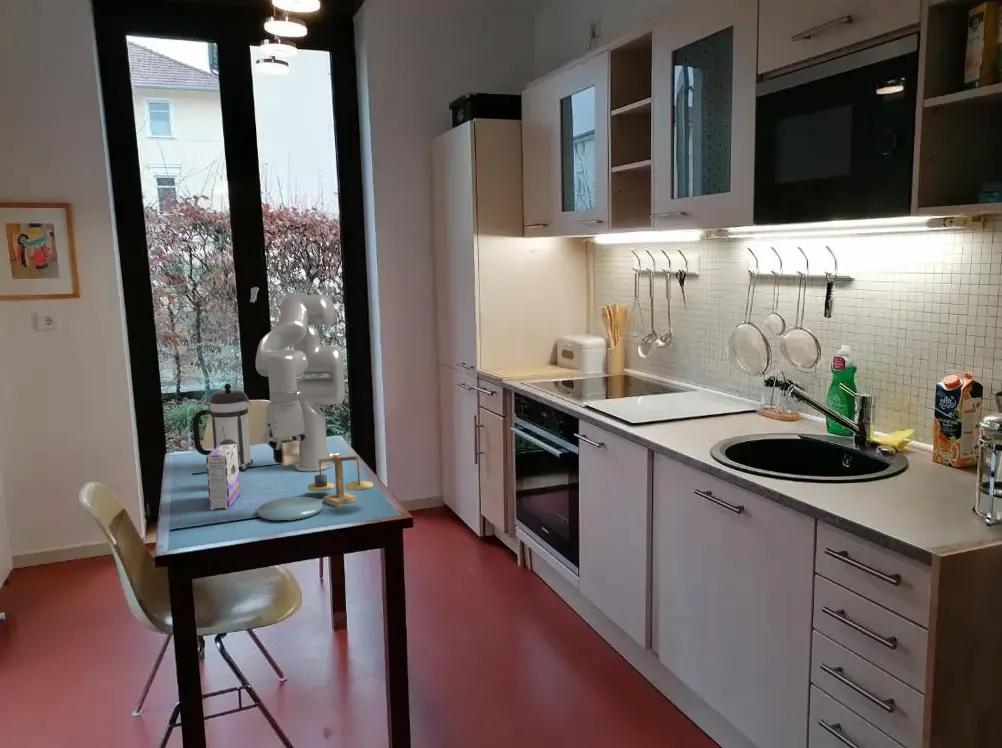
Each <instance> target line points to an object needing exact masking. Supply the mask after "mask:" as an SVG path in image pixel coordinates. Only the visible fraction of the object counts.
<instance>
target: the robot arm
mask: <svg viewBox="0 0 1002 748" xmlns="http://www.w3.org/2000/svg"><path fill="white" fill-rule="evenodd" d="M279 312H280V315H279V320H278V325H277V326H276V327H274V328H273V329H271V330H270V331H269V332H268V333H266V334H265V335H264V336H263V337H262V339H260V341H259V344H258V346H257V351H256V357H255V369H256V371H257V373H258V374H259V375H260V376H262V377H268V385H269V386H268V388H269V403H267V405H266V411H265V423H264V424H265V427H264V429H265V432H264V434H263V435H262V437H261V441H262V442H263V443H265V444H267V446H269V447H270V448H271V449H272V451H273V459H274V460H273V461H274V462H277V463H276V464H278V463H282V449H280V445H281V440H284V439H289V438H290V439H292V440H296V441H299V449H300V462H298V463H295V464H294V469H295V470H297V471H300V472H307V473H308V472H318V471H319V472H320V470H319V463H318V459H324V458H334V456H337V455H340V453H339V452H338V451H335V452H331V451H330V452H329V451H328V446H327V444H328V442H327V427H326V424H327V423H326V416H325V414H324V412H323V411H322V410H321V409H320V407H319V406H321V405H323V406H324V405H325V406H326V405H339V404H341V403H343V401H344V400H345V397H346V396H345V395H346V386H345V371H344V370H345V369H344V360H343V355H342V352H341V349H340V348H339V347H337V346H336V345H335V346H334V345H326V346H325V345H322V346H321V345H320V340H319V339H320V337H319V335H320V334H319V331H318V330H317V328H316V327H315V326H321V325H322V326H324V325H327V326H328V325H330V324H332V323H333V322H334V319H335V315H336V314H335V312H336V310H335V306H334V302H333V301H332V300H331V299H330V298H329V297H327V296H326V295H323V294H295V295H290V296H288V297H285V299H284V300H283V302H281V303H280V306H279ZM291 346H293V349H285V348H288V347H291ZM301 375H329V376H322V377H321V376H312V377H311V376H310V377H302V378H298V379H297V377H298V376H301ZM270 438H272V439H270ZM332 467H333V462H322V463H321V471H323V470H328V469H331V468H332Z"/></svg>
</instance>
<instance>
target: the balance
mask: <svg viewBox="0 0 1002 748" xmlns="http://www.w3.org/2000/svg"><path fill="white" fill-rule="evenodd" d="M360 460H361V459H360V455H351V456H343V455H342V454H339V455H337V456H334V458H324V459H318V463H319V470H320V471H319V474H316V475H315V476H314V482H313V483H311V484H308V485H307V490H308V491H311V492H325V491H330V490H332V489H334V488H335V493H333V494H330V495H327V496H323V502H324V503H325V504H328V505H331V506H333V505H334V507H336V506H337V508H339V507H342V506H345V504H346V505H349V504H352V502H353V503H356V502H358V495H355V494H352V493H350V492H349V493H348V492H346V491H345V489H346V490H347V491H353V492H359V491H366V490H370V489H372V488H373V487H374V482H372V481H370V480H369V481H368V480H360V479H361V476H360ZM344 461H345V462H346V461H357V466H356V467H357V480H354V481H351V482H348V483H345V485H344V473H343V472H344V471H343V470H344V469H343V467H344V466H343V462H344ZM322 462H332V463H334V475H335V477H334V478H335V483H334V482H331V481H328V476H327V474H322V470H321V463H322ZM344 488H345V489H344ZM355 501H356V502H355ZM338 506H339V507H338Z"/></svg>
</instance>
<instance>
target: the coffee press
mask: <svg viewBox="0 0 1002 748" xmlns="http://www.w3.org/2000/svg"><path fill="white" fill-rule="evenodd" d="M223 388H224V389H223V390H217V391H215V392H213V393H212V394H211V395H210V397H209V399H208V403H209V406H210V409H202V410H199V411H198V412H197V413H195V414H194V416H193V420H192V431H193V443H194V448H195V450H196V451H197V452H198V453H199V454H200V455H204V456H207V455H208V454H209V453H210V452H212V451H213V450H214V449H215V448H216V447H217V446H218V445H219V444H220V443H221V442H222V441H224V440H225V438H224V433H223V427H222V426H224V429H225V434H226V440H227V439H230V440H233V441H235V442H236V443H237V444H238V445H239V448H240V457H239V471H241V472H246V471H247V466H246V465H248V464H249V465H253V464H254V460H253V459H252V457H251V455H252V454H251V443H250V442H251V441H250V427H249V407H252V406H253V404H252V403H251V401H250V400H249V396H247V393H245V392H244V391H242V390H240V389H231V388H232V385H231V384H230V383H225V384H224V387H223ZM207 415H210V418H211V431H212V445H213V449H210V450H207V449H204V448H203V447H202V445H201V437H200V435H201V434H200V424H199V423H200V419H201V418H202V416H207Z"/></svg>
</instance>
